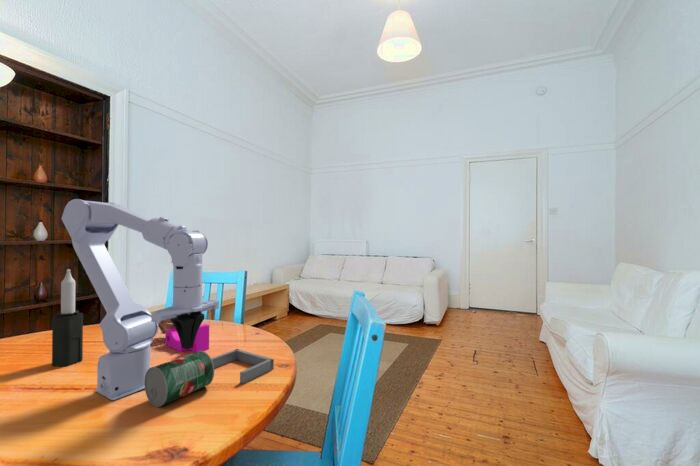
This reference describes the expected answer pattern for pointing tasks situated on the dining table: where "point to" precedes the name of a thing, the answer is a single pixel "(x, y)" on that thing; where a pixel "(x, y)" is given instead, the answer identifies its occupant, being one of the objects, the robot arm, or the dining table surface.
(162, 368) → the canned tomato
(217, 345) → the dining table surface
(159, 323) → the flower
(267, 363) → the box
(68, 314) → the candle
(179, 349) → the toy block
